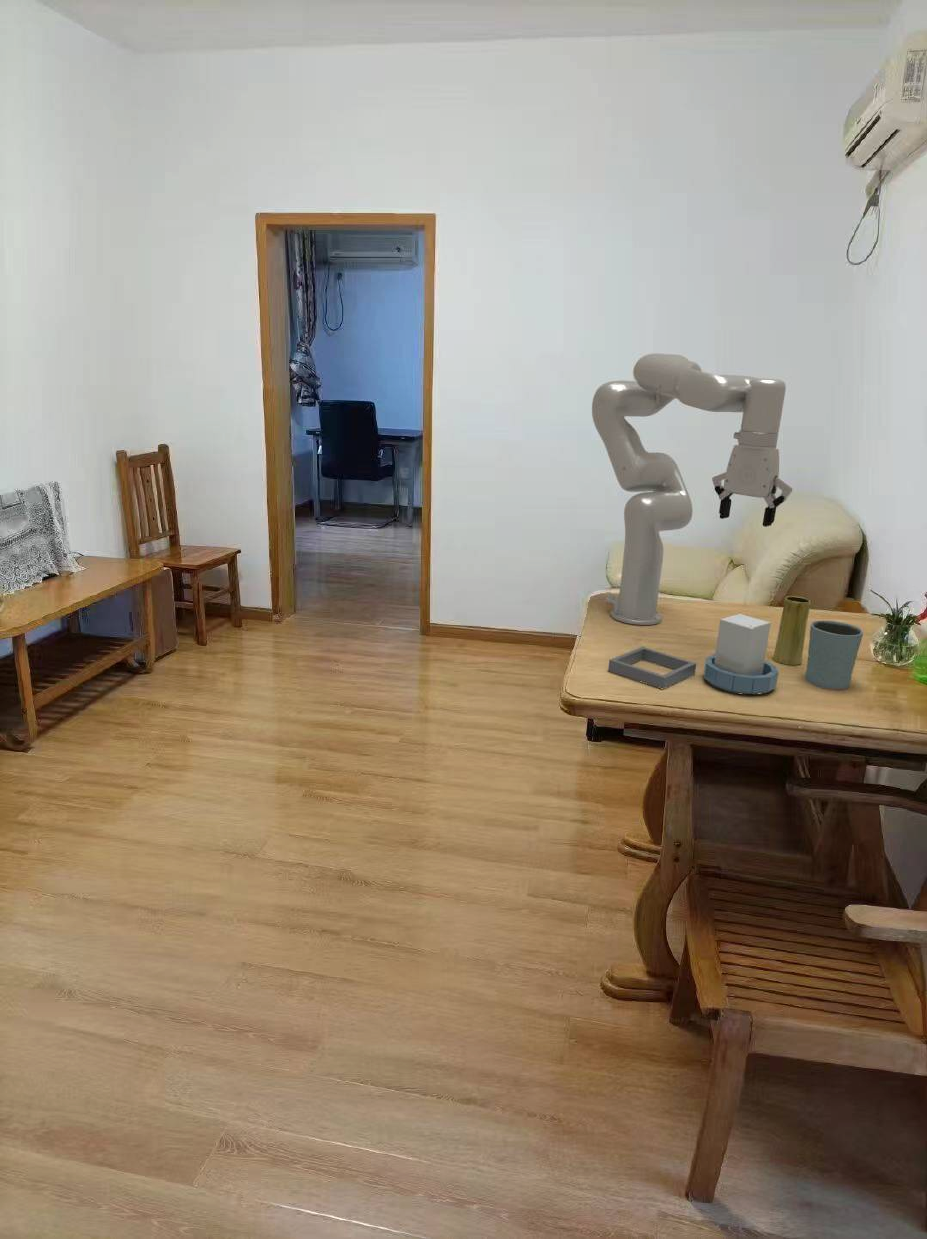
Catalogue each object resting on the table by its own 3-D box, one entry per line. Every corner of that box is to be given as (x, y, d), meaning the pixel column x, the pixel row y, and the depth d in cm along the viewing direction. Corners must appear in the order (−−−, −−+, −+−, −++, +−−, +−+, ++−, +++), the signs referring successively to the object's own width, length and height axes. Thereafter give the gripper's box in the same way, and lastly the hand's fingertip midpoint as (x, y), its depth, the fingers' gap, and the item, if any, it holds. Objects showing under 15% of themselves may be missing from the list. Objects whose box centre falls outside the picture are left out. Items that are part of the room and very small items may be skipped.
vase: (803, 667, 187) (815, 604, 183) (774, 663, 188) (785, 601, 184) (798, 657, 193) (810, 597, 188) (770, 654, 194) (781, 594, 189)
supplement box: (762, 681, 175) (772, 622, 171) (741, 688, 170) (751, 628, 167) (731, 669, 180) (740, 612, 177) (710, 676, 176) (719, 618, 172)
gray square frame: (608, 671, 178) (609, 659, 177) (641, 657, 187) (642, 646, 186) (663, 689, 170) (664, 677, 169) (694, 674, 179) (696, 663, 178)
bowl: (690, 681, 175) (693, 663, 174) (722, 665, 185) (725, 648, 184) (756, 702, 166) (759, 683, 165) (785, 684, 176) (788, 666, 175)
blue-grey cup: (832, 694, 172) (843, 637, 169) (790, 677, 181) (800, 623, 177) (862, 686, 178) (874, 631, 174) (820, 669, 186) (830, 617, 182)
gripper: (711, 436, 180) (699, 516, 185) (791, 446, 169) (777, 531, 174) (727, 435, 185) (716, 513, 191) (806, 444, 174) (792, 527, 180)
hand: (745, 521), depth 182 cm, fingers open, 9 cm apart
